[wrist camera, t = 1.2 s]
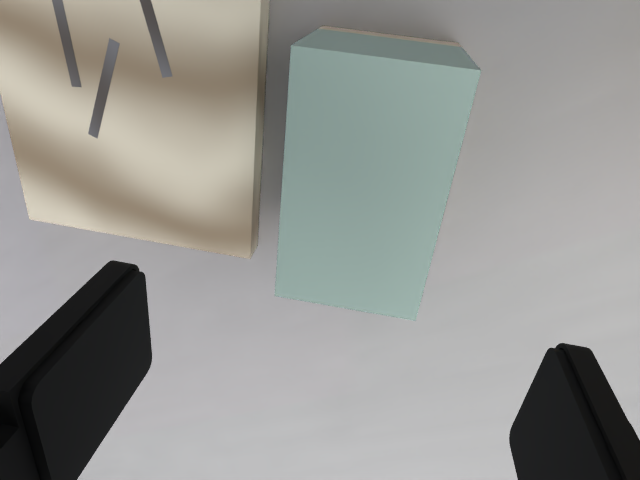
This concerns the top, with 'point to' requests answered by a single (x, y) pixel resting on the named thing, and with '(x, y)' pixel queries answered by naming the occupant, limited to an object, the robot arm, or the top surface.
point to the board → (139, 116)
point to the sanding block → (368, 166)
